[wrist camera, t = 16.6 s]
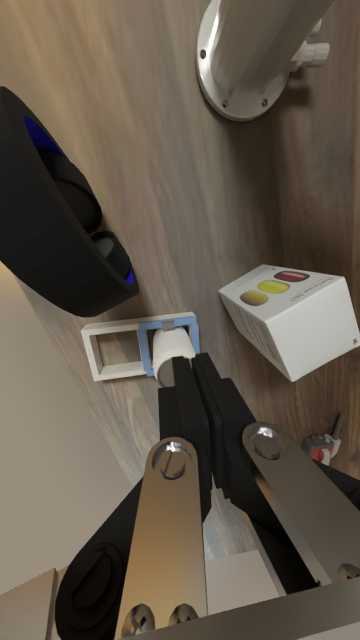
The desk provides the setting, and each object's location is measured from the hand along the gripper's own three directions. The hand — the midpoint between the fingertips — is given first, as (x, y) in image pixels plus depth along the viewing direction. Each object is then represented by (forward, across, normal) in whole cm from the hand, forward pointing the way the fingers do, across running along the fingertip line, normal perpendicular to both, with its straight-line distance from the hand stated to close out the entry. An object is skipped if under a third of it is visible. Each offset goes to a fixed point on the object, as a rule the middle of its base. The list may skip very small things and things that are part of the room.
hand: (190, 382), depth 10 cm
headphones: (+27, +9, -9) cm, 30 cm away
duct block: (+27, +4, +10) cm, 29 cm away
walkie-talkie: (+28, -35, +44) cm, 63 cm away
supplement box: (+27, -16, +4) cm, 32 cm away
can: (+27, 0, +10) cm, 29 cm away
